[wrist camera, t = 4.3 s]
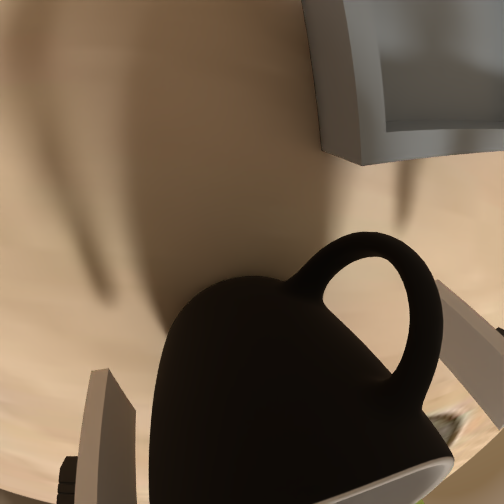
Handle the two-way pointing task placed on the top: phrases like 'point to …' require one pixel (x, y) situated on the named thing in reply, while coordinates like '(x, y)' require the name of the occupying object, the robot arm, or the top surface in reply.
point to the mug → (296, 393)
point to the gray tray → (407, 77)
